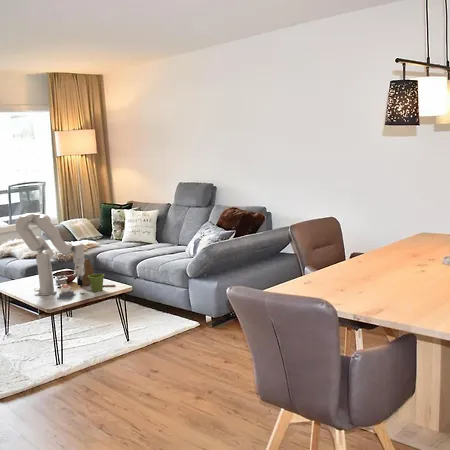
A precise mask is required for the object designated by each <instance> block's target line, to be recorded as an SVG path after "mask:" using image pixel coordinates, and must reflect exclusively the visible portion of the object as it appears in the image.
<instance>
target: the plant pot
mask: <svg viewBox="0 0 450 450" xmlns="http://www.w3.org/2000/svg"><path fill="white" fill-rule="evenodd" d="M88 277H89V280H90V284H91V285H90V287H91V292H94V293H95V292H101V291H103V288H104V287H103V285H104V277H105V274H104V273H94V274H92V275H89V276H88Z"/></svg>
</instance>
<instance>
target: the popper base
mask: <svg viewBox="0 0 450 450" xmlns="http://www.w3.org/2000/svg"><path fill="white" fill-rule="evenodd" d="M75 296H76V293H75V292H74V289H73V290H72V289H71V291H70V292H69V293H62V292H58V296H57V300H65V299H66V300H67V299H69V300H70V299H71V300H72V299H73V298H74V297H75Z"/></svg>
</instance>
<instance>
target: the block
mask: <svg viewBox="0 0 450 450" xmlns="http://www.w3.org/2000/svg"><path fill="white" fill-rule="evenodd" d="M90 260H91V259H90V258H85V257H84V270H85V274H84V275H83V276H82V279H81V280H82V285H80V286H81V287H86V286H91V284H90V280H89V277H88V276H89V275H92V274H95V271H94V267H93V265H92V263H91V262H90Z"/></svg>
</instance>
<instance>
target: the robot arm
mask: <svg viewBox="0 0 450 450" xmlns="http://www.w3.org/2000/svg"><path fill="white" fill-rule="evenodd" d="M29 226H36V227H38V228H39V230H41V231H42V232H43V234H45V236H46V237H48V239H49V240H50V242H51V243H52V245H53V246H54V247H55V248H56V250H57V251H58V252H59V253H61V255H63V256H69V255H70V254H71V253H72V254H73V255H72V256H73V259H72V260H73V264H74V276H75V277H76V281H77V285H76V286H81V285H82V280H81V279H82V276H83V275H84V274H85V270H84V259H85V247H84V246H85V245H84V243H82V242H75V243H74V242H65V241H64V239H63V238H62V236H61V234H60V230H59V229H58V228H57V227H56V226H55V225H54V224H53V223H52V219H51V218H50V216H49V215H48V214H41V213H31V212H30V213H29V212H28V213H24V214H21V216H19V217H18V219H17V220H16V222H15V230H16V232H17V234H18V235H19V236H20V238H21V239H22V241H23V242H24V243H25V245H26V247H27V248H28V249H29V250H30V251H31V252H36V253H37V254H36V257H35V261H36V265H37V274H38V283H39V288H37V287H36V288H34V289H33V290H34V292H37V295H38V296H40V297H41V296H43V297H44V296H52V295H55V294H57V290H56V289H55V287H54V284H55V283H54V276H53V268H52V262H51V261H52V259H53V258H54V251H53V249H52V248H51V247H50V246H49V244H48V243H47V242H46V241H45V239H44V237H42V236H40V235H39V236H38V235H36V234H35V233H34V232H33V230H31V229H30V227H29Z"/></svg>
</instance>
